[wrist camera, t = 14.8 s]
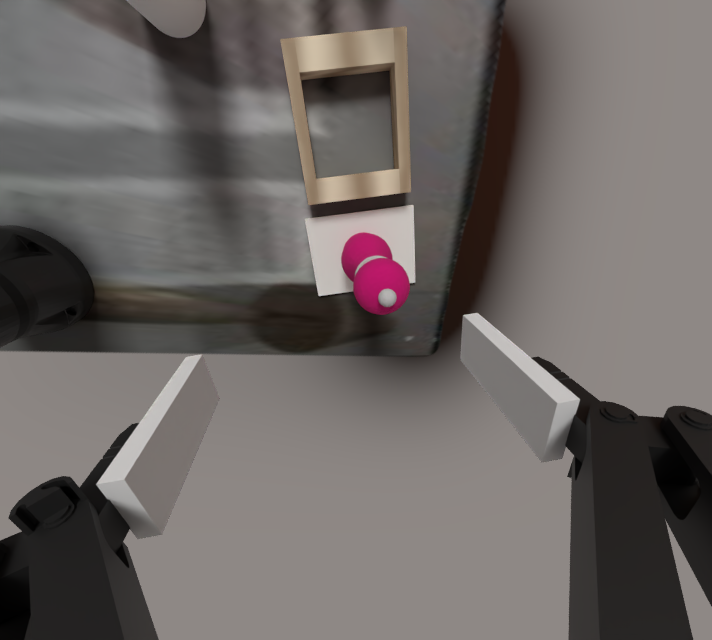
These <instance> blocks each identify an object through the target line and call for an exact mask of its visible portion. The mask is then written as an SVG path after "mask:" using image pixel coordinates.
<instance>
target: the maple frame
mask: <svg viewBox="0 0 712 640" xmlns="http://www.w3.org/2000/svg"><path fill="white" fill-rule="evenodd" d="M280 40H281V46H282V52H283V58H284V63H285V69H286V75H287V81H288V87H289V93H290V99H291V105H292V110H293V116H294V122H295V128H296V134H297V140H298V146H299V152H300V158H301V163H302V169H303V175H304V181H305V187H306V193H307V199H308V205H313V204H321V203H328V202H336V201H344V200H352V199H360V198H368V197H375V196H383V195H391V194H399V193H407V192H411V174H410V136H409V99H408V62H407V26H405V27H395V28H386V29H376V30H366V31H356V32H346V33H337V34H327V35H317V36H307V37H298V38H288V39H280ZM381 71H389V73H390V94H391V114H392V135H393V156H394V169H392V170H384V171H376V172H368V173H360V174H352V175H344V176H336V177H328V178H320V179H316V174H315V167H314V161H313V154H312V148H311V141H310V135H309V128H308V122H307V115H306V109H305V102H304V96H303V89H302V83H301V80H308V79H317V78H326V77H335V76H344V75H354V74H363V73H372V72H381Z"/></svg>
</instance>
